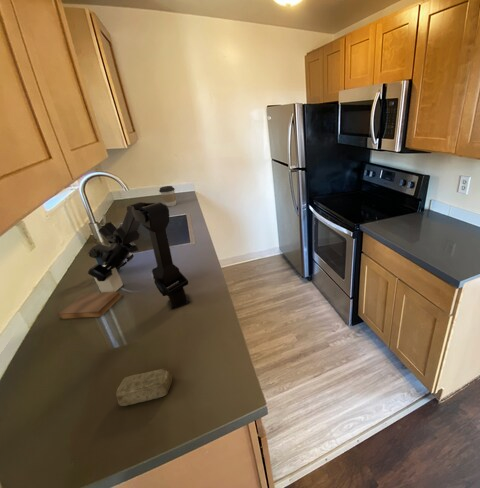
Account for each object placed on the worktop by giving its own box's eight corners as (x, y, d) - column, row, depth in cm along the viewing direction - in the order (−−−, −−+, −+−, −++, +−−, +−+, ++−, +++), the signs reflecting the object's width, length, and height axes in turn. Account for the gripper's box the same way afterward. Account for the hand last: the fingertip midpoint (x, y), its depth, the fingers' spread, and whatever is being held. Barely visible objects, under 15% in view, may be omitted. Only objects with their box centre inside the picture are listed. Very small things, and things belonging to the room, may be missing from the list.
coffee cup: (181, 204, 229) (176, 186, 222) (166, 208, 221) (161, 189, 215) (175, 202, 236) (170, 184, 229) (161, 205, 229) (156, 187, 222)
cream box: (123, 284, 119) (114, 264, 114) (114, 292, 114) (105, 271, 109) (110, 285, 118) (101, 265, 114) (101, 293, 114) (91, 272, 109)
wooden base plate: (122, 296, 112) (120, 291, 111) (101, 316, 100) (98, 311, 99) (86, 298, 111) (83, 293, 110) (61, 319, 100) (57, 313, 99)
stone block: (169, 396, 70) (163, 383, 68) (118, 410, 68) (111, 396, 65) (174, 377, 75) (168, 365, 73) (127, 389, 73) (120, 376, 70)
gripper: (116, 230, 115) (100, 254, 119) (82, 250, 98) (64, 278, 103) (141, 245, 118) (124, 269, 123) (112, 267, 101) (94, 294, 106)
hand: (103, 276), depth 113 cm, fingers closed on cream box, 5 cm apart
